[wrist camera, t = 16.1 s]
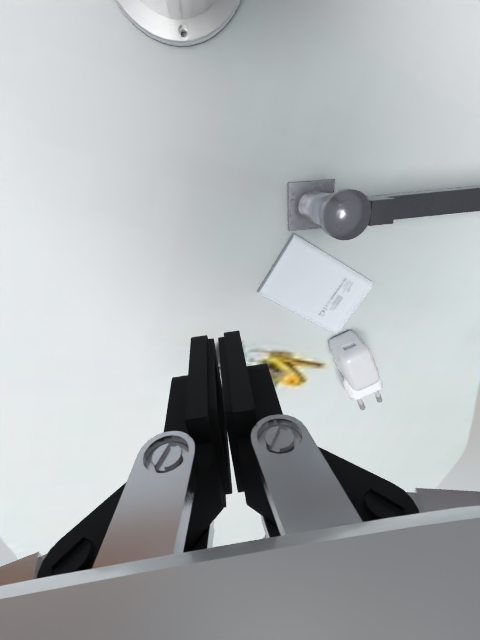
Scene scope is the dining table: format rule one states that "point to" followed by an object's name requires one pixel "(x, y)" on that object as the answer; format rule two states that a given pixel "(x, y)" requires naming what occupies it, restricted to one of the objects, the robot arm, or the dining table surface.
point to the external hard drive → (314, 285)
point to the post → (307, 203)
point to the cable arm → (390, 208)
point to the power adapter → (356, 366)
